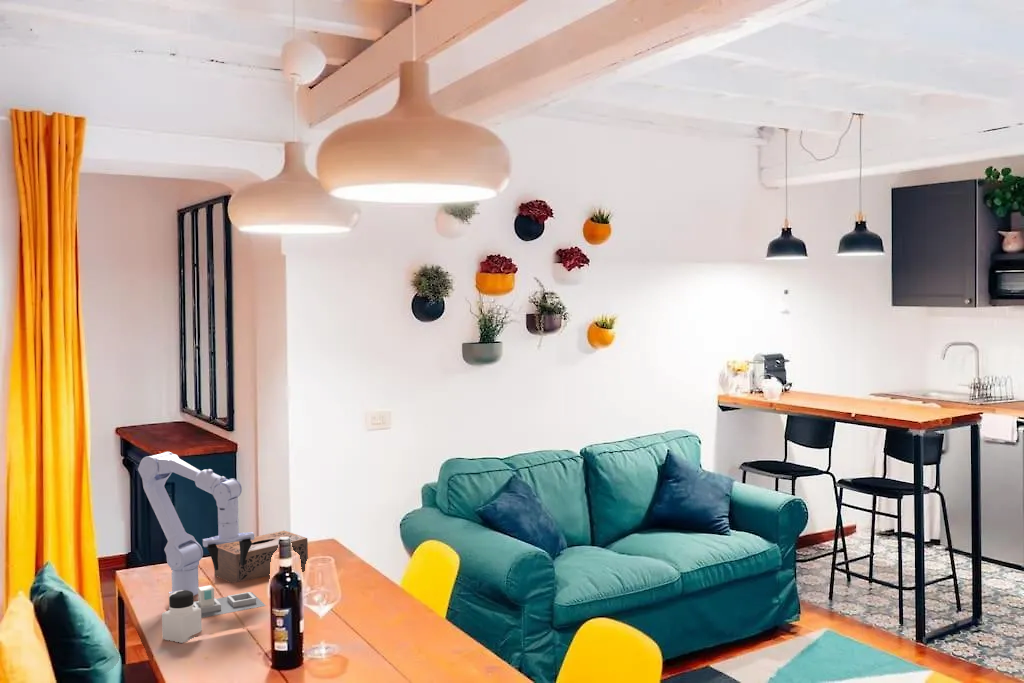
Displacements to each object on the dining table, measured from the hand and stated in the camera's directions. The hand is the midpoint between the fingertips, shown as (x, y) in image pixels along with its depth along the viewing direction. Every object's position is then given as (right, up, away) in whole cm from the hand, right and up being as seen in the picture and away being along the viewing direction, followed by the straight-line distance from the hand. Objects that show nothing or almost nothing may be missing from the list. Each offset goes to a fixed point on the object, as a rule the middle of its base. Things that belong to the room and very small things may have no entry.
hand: (229, 567), depth 267 cm
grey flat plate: (0, -11, -5) cm, 12 cm away
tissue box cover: (+1, -9, +30) cm, 32 cm away
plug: (-4, -10, -8) cm, 13 cm away
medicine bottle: (-4, -12, -27) cm, 30 cm away
